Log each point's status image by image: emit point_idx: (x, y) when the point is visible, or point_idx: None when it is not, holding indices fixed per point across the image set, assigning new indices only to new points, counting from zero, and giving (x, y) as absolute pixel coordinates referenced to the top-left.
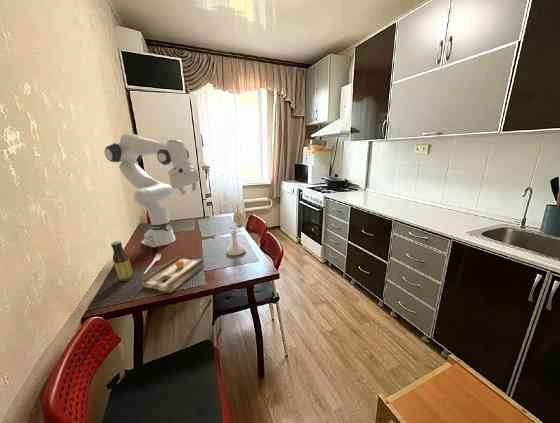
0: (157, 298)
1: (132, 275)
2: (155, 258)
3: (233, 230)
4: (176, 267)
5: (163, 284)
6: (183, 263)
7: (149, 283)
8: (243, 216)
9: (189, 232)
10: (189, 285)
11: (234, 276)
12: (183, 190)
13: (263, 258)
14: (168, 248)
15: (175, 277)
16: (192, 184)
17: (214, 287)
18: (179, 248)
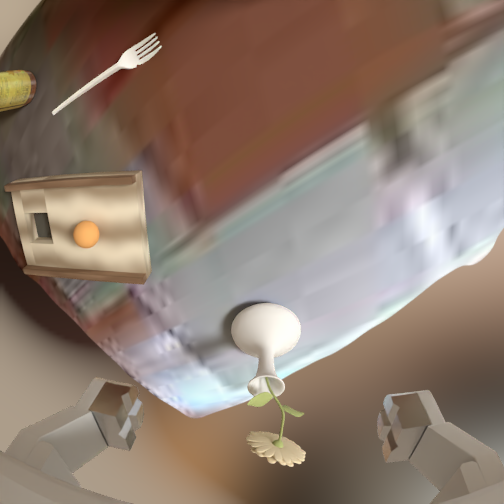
0: (15, 250)
1: (28, 101)
2: (138, 47)
3: (279, 381)
4: (86, 216)
5: (27, 246)
6: (90, 247)
7: (14, 207)
8: (301, 452)
9: (430, 13)
10: (70, 288)
11: (145, 364)
12: (84, 456)
13: (250, 394)
14: (237, 19)
15: (54, 254)
16: (453, 478)
17: (94, 341)
18: (250, 70)
